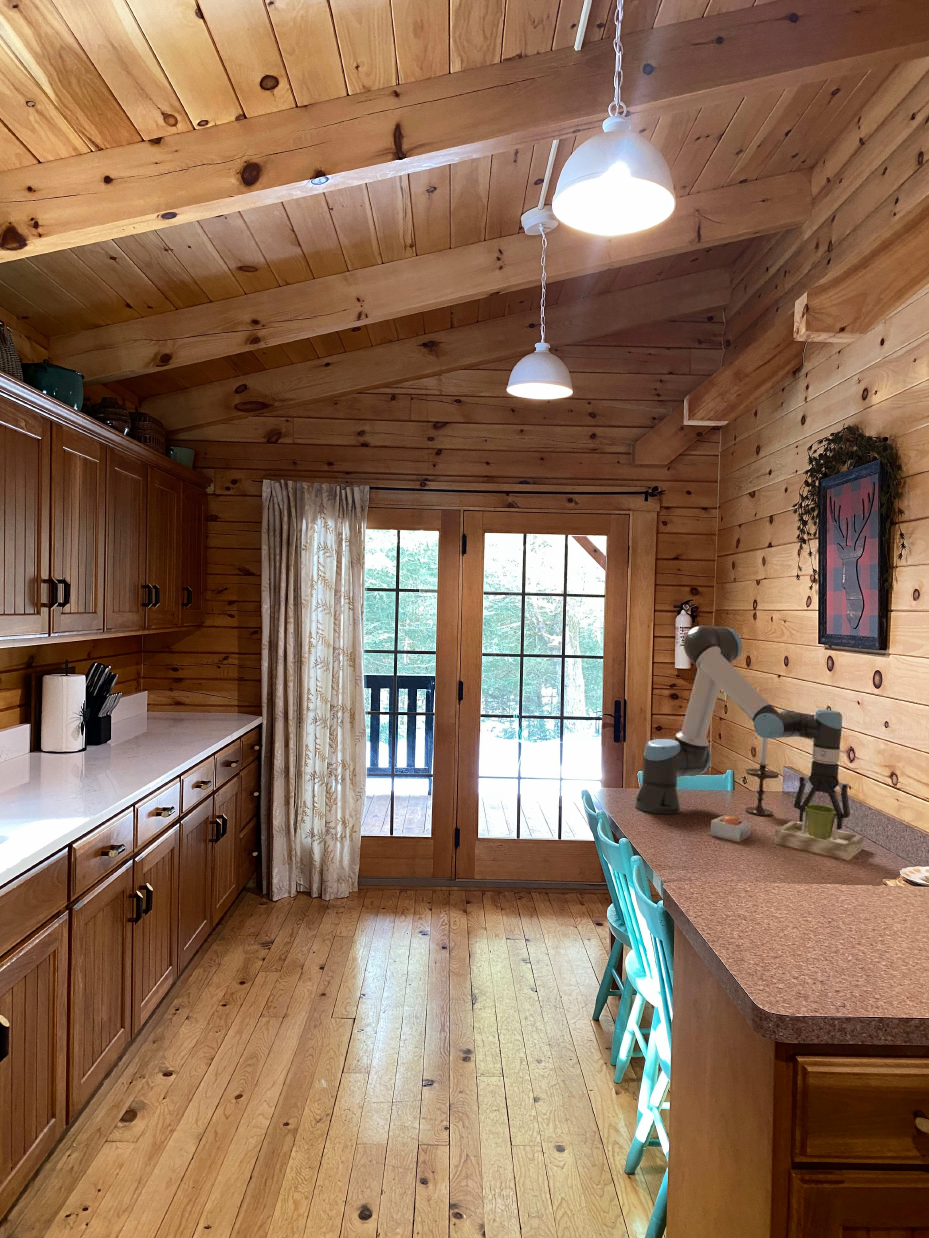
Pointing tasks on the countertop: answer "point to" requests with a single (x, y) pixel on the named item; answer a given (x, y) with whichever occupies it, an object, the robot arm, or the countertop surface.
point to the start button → (731, 820)
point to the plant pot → (820, 820)
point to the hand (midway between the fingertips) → (819, 835)
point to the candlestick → (761, 782)
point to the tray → (819, 841)
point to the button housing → (730, 829)
